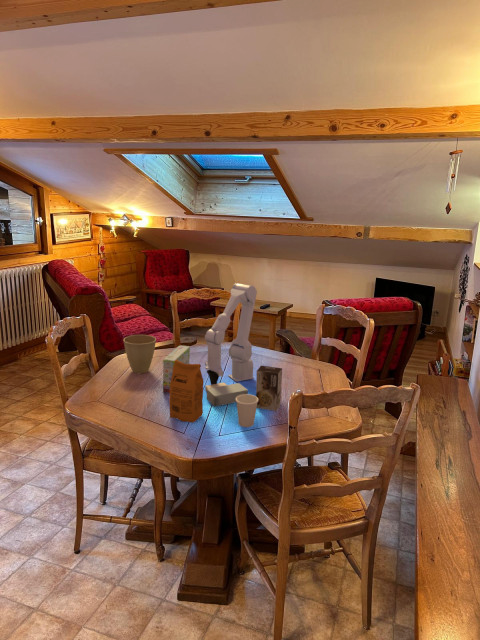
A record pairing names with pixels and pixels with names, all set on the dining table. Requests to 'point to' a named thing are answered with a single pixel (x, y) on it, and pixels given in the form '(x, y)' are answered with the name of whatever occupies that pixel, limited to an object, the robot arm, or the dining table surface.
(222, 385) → the tile
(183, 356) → the snack box
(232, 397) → the beige slab
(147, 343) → the plant pot
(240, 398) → the dixie cup
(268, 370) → the coffee box
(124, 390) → the dining table surface
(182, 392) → the coffee package
